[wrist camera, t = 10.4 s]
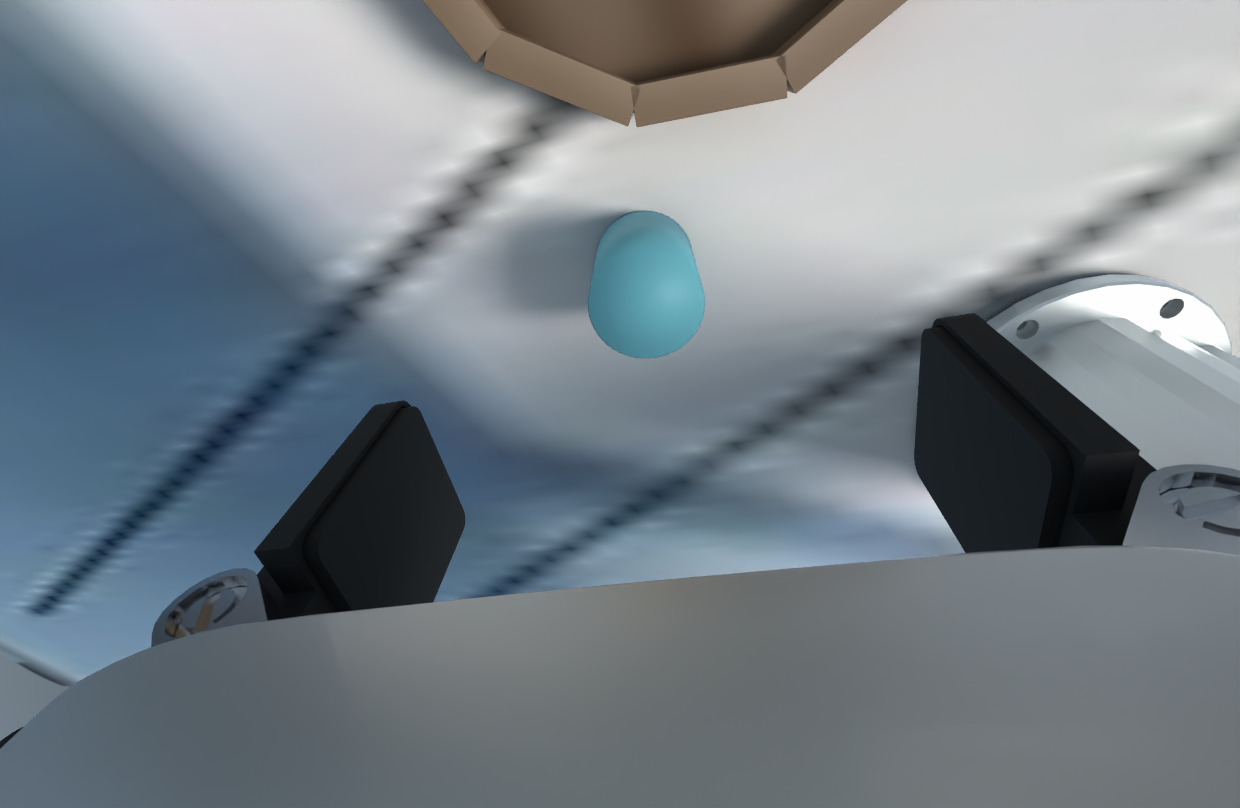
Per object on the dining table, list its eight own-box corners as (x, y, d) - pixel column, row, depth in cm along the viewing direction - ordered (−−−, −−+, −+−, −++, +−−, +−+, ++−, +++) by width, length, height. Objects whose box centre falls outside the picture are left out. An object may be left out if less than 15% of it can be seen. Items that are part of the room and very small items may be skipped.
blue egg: (686, 202, 23) (697, 239, 19) (697, 296, 25) (710, 349, 21) (587, 220, 23) (576, 260, 19) (606, 311, 26) (600, 365, 21)
